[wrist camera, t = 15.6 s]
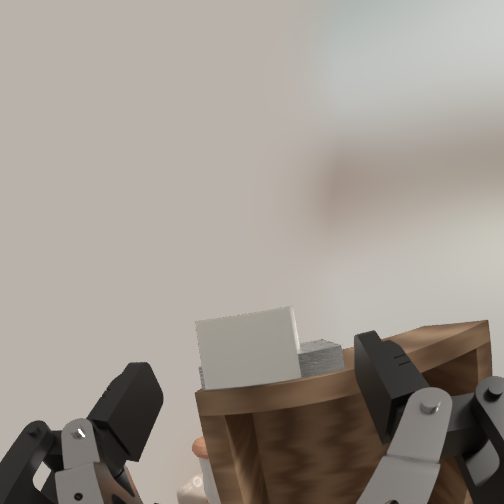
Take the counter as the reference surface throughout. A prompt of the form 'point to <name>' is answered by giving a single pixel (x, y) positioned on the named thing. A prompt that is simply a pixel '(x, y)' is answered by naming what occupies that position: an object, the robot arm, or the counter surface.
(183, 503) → the counter surface
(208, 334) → the plug
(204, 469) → the pepper shaker
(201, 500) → the counter surface
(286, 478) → the walnut shelf
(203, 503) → the counter surface
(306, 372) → the socket block
